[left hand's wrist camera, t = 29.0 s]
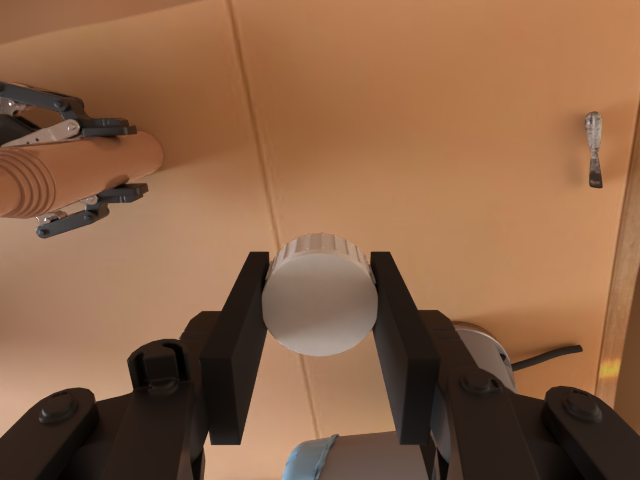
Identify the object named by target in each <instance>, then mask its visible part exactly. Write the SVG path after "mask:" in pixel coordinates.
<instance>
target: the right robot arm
mask: <svg viewBox="0 0 640 480" xmlns="http://www.w3.org/2000/svg"><path fill="white" fill-rule="evenodd" d="M0 105H1V114H0V148H1V147H7V146H15V145H24V144H32V143H40V142H49V141H57V140H66V139H74V138H79V137H82V136H84V137H89V136H120V135H133V134H137V129H136V126H129V124H128V120H126V119H123V118H106V119H93V118H90V117H89V116H88V115H87V114H86V113H85V111H84V103H83V101H82V100H81V99H80V98H77V97H74V96H70V95H66V94H62V93H58V92H54V91H50V90H46V89H42V88H38V87H34V86H30V85H26V84H22V83H13V82H1V81H0ZM33 106H37V107H41V108H45V109H49V110H54V111H58V112H60V114H61V116H62V117H63V119H64V121H63V122H61V123H58V124H56V125H54V126H51V127H47V128H43V129H42V128H40V127H39V126H37V125H35V124H34V123H32V122H30V121H29V120H27V119H25V118H24V117H22V116H20V115H21V112H22V111H24V110H31V109H32V108H33ZM146 192H148V186H147V184H146V183H139V184H123V185H120V186H118V187H115V188H112V189H110V190H107V191H105V192H102V193H99V194H97V195H94V196H92V197H89V198H86V199H84V200H81V201H79V202H82V203H86V207H85V210H83V211H80V212H77V213H73V214H70V215H67V213H66V212H62V211H60V210H56V211H52V212H50V213H47V214H44V215H42V216H39V217H36V219H37V220H38V222H39V224H40V225H41V226H39V227H37V228H36V234H37V235H38V236H39V237H41V238H48V237H51V236H54V235H57V234H60V233H64V232H67V231H70V230H73V229H76V228H79V227H82V226H86V225H89V224H92V223H94V222H96V221H98V220H100V219H102V218H104V217H106V216H108V215H109V209H108V207H107V205H108V203H128V202H133V201H135V200H137V199H139V198H141V197H143V194H144V193H146Z"/></svg>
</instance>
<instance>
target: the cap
mask: <svg viewBox="0 0 640 480" xmlns="http://www.w3.org/2000/svg"><path fill="white" fill-rule="evenodd" d="M265 280H266V282H265V286H264V289H263V292H262V310H263V320H264V322H265V325H266V327H267V328H268V330H269V332H270V333H271V334H272V335H273V337H274V338H275V339H276V340H277V341H278V342H280V343H281V344H282V345H284V346H285V347H287V348H289V349H290V350H293V351H295V352H297V353H301V354H304V355H309V356H330V355H335V354H339V353H342V352H345V351H347V350H349V349H351V348H353V347H354V346H356V345H357V344H359V343H360V342H361V341H362V340H363V339H364V338H365V337H366V336H367V335H368V334H369V332H370V331H371V330H372V328H373V326H374V324H375V322H376V319H377V306H378V293H377V290H376V287H375V284H376V281H375V278H374V275H373V272H372V269H371V266H370V265H368V262H367V259H366V256H365V255H363V254H362V253H361V252H360V250H359V249H358V247H357V246H356V247H355V246H354V245H353V244H352V243H350V242H349V241H348V240H347V239H346V240H345V239H343V238H340V237H338V236H336V235H330V234H323V233H321V234H308V235H305V236H302V237H299V238H298V237H297V238H296V239H295V240H293V241H291V242H289V243H288V244H287V243H286V244H285V246H284V247H283V248H282V249H281V250H280V251H279V252H278V251H277V253H276V256H275V258H274V260H273V261H271V262H270V265H269V268H268V272H267V275H266V278H265Z"/></svg>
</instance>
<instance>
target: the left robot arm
mask: <svg viewBox="0 0 640 480" xmlns="http://www.w3.org/2000/svg"><path fill="white" fill-rule="evenodd" d="M269 265H270V264H269V252H250V253H249V255H248V257H247V259H246V261H245V263H244V265H243V268H242V270H241V272H240V274H239V276H238V278H237V280H236V282H235V284H234V286H233V288H232V290H231V292H230V294H229V297H228V299H227V301H226V303H225V305H224V307H223V309H222V311H202V312H201V313H199V314H198V315H197V316H195V317H194V318H193V319H191V320H190V322H189V323H188V325H187V327H186V328H185V330H184V332H183V333H182V335H181V337H180V338H179V340H177V339H162V340H157V341H152V342H150V343H148V344H146V345H143V346H141V347H140V348H138V349H137V350H136V351H134V352H133V353H132V354H131V355H130V357H129V358H128V359H127V363H128V367H129V372H130V376H131V380H132V385H133V392H132V393H129V394H126V395H122V396H119V397H114V398H110V399H106V400H101V401H97V402H96V400H95V396H94V394H93V393H92V392H91V391H90V390H89V389H85V388H80V387H79V388H70V389H65V390H62V391H59V392H56V393H53V394H51V395H50V396H48V397H46V398H44V399H42V400H40V401H39V402H38V403H37V404H35V405H34V406H33V407H32V408H30V409H29V410H28V411H27V412H26V413H25V414H24V415H23V416H22V417H21V418H20V419H19V420H18V421H17V422H16V423H15V424H14V425H13V426H12V427H11V428H10V429H9V430H8V431H7V432H6V433H5V434H4V435H3V436H2V437H1V438H0V480H204V470H205V454H204V448H203V446H204V443H205V440H206V437H207V434H208V431H209V434H210V441H211V445H240V444H241V440H242V435H243V431H244V427H245V423H246V418H247V414H248V410H249V406H250V401H251V397H252V393H253V389H254V384H255V380H256V376H257V372H258V367H259V363H260V359H261V355H262V351H263V346H264V342H265V338H266V334H267V329H268V328H267V327H266V325H265V322H264V320H263V310H262V292H263V289H264V286H265V282H266V280H265V278H266V275H267V272H268V268H269ZM370 266H371V269H372V272H373V275H374V278H375V281H376V284H375V287H376V290H377V293H378V306H377V319H376V322H375V324H374V326H373V328H372V330H373V334H374V339H375V343H376V347H377V351H378V356H379V360H380V364H381V368H382V373H383V377H384V381H385V385H386V390H387V394H388V398H389V402H390V407H391V411H392V415H393V419H394V424H395V428H396V431H391V432H382V433H371V434H360V435H350V436H339V434H335V435H332V436H331V437H329V438H323V439H317V440H311V441H305V442H302V443H300V444H299V445H298V446H296V447H295V449H294V450H293V451H292V452H291V454H290V456H289V458H288V460H287V463H286V466H285V469H284V472H283V476H282V480H640V436H639V435H638V434H637V433H636V432H635V431H634V430H633V429H632V428H631V427H630V426H629V425H628V424H627V423H626V422H625V421H624V420H623V419H622V418H621V417H620V416H619V415H618V414H617V413H616V412H615V411H614V410H613V409H612V408H611V407H609V406H608V405H607V404H606V403H604V402H603V401H602V400H601V399H599V398H597V397H596V396H594V395H592V394H590V393H588V392H586V391H583V390H580V389H577V388H574V387H566V386H558V387H553V388H551V389H550V390H548V391H547V392H546V395H545V399H544V400H541V399H536V398H532V397H528V396H523V395H519V394H518V392H517V388H516V383H515V379H514V375H513V371H516V370H519V369H523V368H526V367H529V366H532V365H535V364H538V363H541V362H544V361H546V360H549V359H552V358H555V357H558V356H561V355H565V354H571V353H577V352H582V351H583V349H582V347H581V346H580V345H576V346H570V347H564V348H560V349H556V350H552V351H549V352H546V353H544V354H541V355H538V356H535V357H533V358H530V359H526V360H523V361H520V362H517V363H514V364H511V363H510V360H509V357H508V355H507V353H506V351H505V350H504V349H503V347H502V346H501V345H500V343H499V342H498V341H497V340H496V338H495V337H494V336H493V335H492V334H490V333H489V332H488V331H486V330H484V329H483V328H481V327H479V326H476V325H473V324H469V323H463V322H451V321H450V319H449V318H448V317H446V316H445V315H444V314H442V313H441V312H440V311H438V310H418V309H417V307H416V305H415V303H414V301H413V299H412V297H411V295H410V293H409V291H408V289H407V287H406V285H405V283H404V280H403V278H402V276H401V274H400V272H399V270H398V268H397V266H396V264H395V262H394V260H393V258H392V256H391V254H390V252H371V260H370Z"/></svg>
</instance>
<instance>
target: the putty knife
mask: <svg viewBox="0 0 640 480" xmlns="http://www.w3.org/2000/svg"><path fill="white" fill-rule="evenodd" d="M585 129H586V135H587V140H588V144H589V149H590V152H592V154H591V161H590V175H589V185H590V186H591V187H594V188H602V187H603V186H602V177H601V170H600V164H599V159H598V154H597V152H598V151H599V147H600V143H601V133H602V118H601V115H600V113H598V112H591V113H589V114H587V116H586V118H585Z"/></svg>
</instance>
